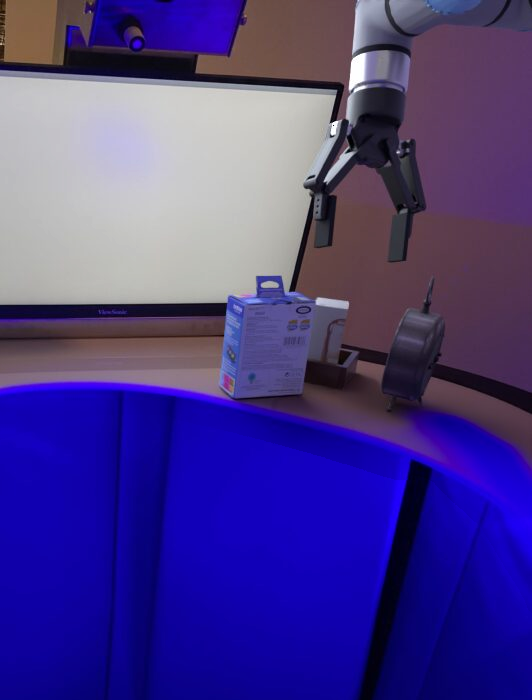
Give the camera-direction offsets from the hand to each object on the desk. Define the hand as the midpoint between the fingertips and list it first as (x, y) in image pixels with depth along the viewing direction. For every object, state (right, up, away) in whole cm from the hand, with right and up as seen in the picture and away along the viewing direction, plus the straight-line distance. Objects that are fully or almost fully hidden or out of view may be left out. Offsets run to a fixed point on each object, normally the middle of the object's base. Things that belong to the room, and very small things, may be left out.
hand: (360, 254), depth 115 cm
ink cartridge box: (-15, -19, -6) cm, 25 cm away
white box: (-6, -16, +1) cm, 17 cm away
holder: (-6, -16, +1) cm, 17 cm away
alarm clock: (+3, -21, -8) cm, 23 cm away
